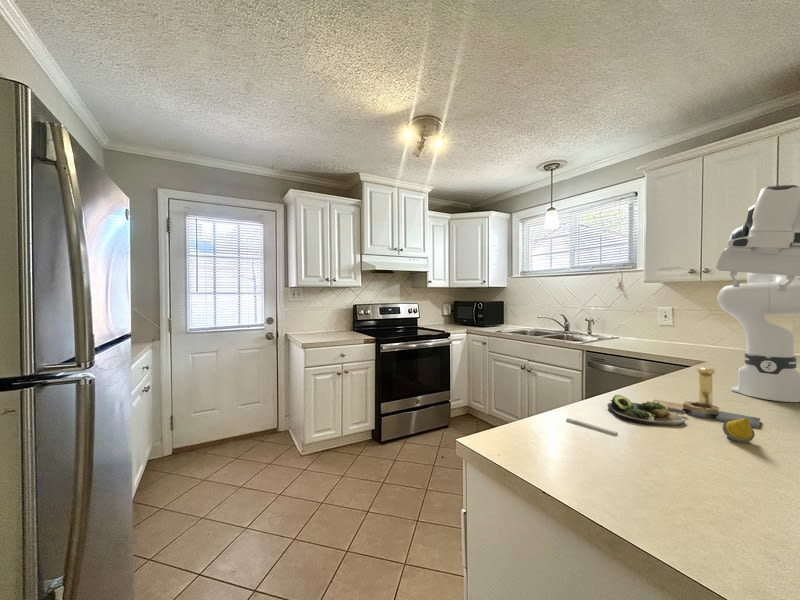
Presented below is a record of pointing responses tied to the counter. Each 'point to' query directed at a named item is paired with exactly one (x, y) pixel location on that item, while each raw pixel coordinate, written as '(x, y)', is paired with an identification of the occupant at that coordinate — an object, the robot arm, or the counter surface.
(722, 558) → the counter surface
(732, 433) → the lemon wedge on dish
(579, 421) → the white rod
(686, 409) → the hinge
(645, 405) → the salad plate
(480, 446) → the counter surface
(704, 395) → the hinge pin
